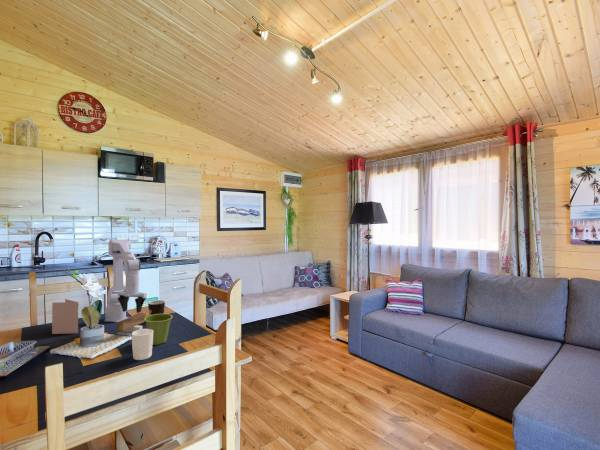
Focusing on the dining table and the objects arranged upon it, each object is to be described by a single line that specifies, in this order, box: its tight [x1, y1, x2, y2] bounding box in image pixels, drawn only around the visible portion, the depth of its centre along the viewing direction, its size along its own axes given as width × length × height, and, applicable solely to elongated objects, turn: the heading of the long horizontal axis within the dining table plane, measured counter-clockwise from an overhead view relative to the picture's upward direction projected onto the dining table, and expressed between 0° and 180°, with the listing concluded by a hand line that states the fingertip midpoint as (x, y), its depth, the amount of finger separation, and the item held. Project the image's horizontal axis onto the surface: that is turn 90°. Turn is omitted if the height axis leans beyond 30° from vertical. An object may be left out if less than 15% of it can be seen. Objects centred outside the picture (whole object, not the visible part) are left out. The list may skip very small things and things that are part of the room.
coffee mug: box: [147, 299, 166, 316], centre depth 174 cm, size 12×9×10 cm
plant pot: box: [144, 313, 173, 346], centre depth 145 cm, size 12×12×11 cm
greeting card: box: [51, 299, 80, 335], centre depth 154 cm, size 11×7×15 cm, turn 63°
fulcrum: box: [115, 324, 144, 337], centre depth 157 cm, size 10×9×3 cm
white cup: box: [131, 328, 153, 361], centre depth 129 cm, size 8×8×10 cm
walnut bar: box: [116, 312, 147, 332], centre depth 157 cm, size 4×16×4 cm, turn 169°
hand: (131, 311), depth 157 cm, fingers open, 7 cm apart
